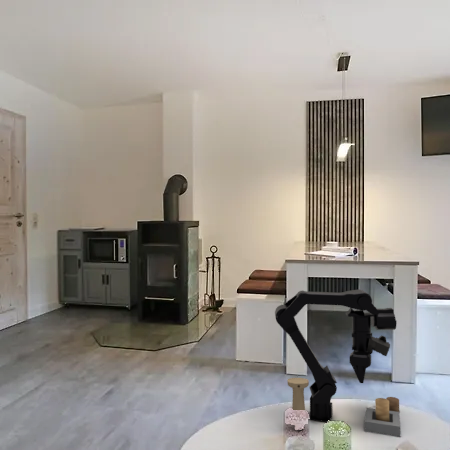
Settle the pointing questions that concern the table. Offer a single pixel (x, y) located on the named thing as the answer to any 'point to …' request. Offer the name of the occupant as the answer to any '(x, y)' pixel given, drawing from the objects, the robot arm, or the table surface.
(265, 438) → the table surface
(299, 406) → the handle
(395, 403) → the short peg
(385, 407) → the long peg
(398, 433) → the block
